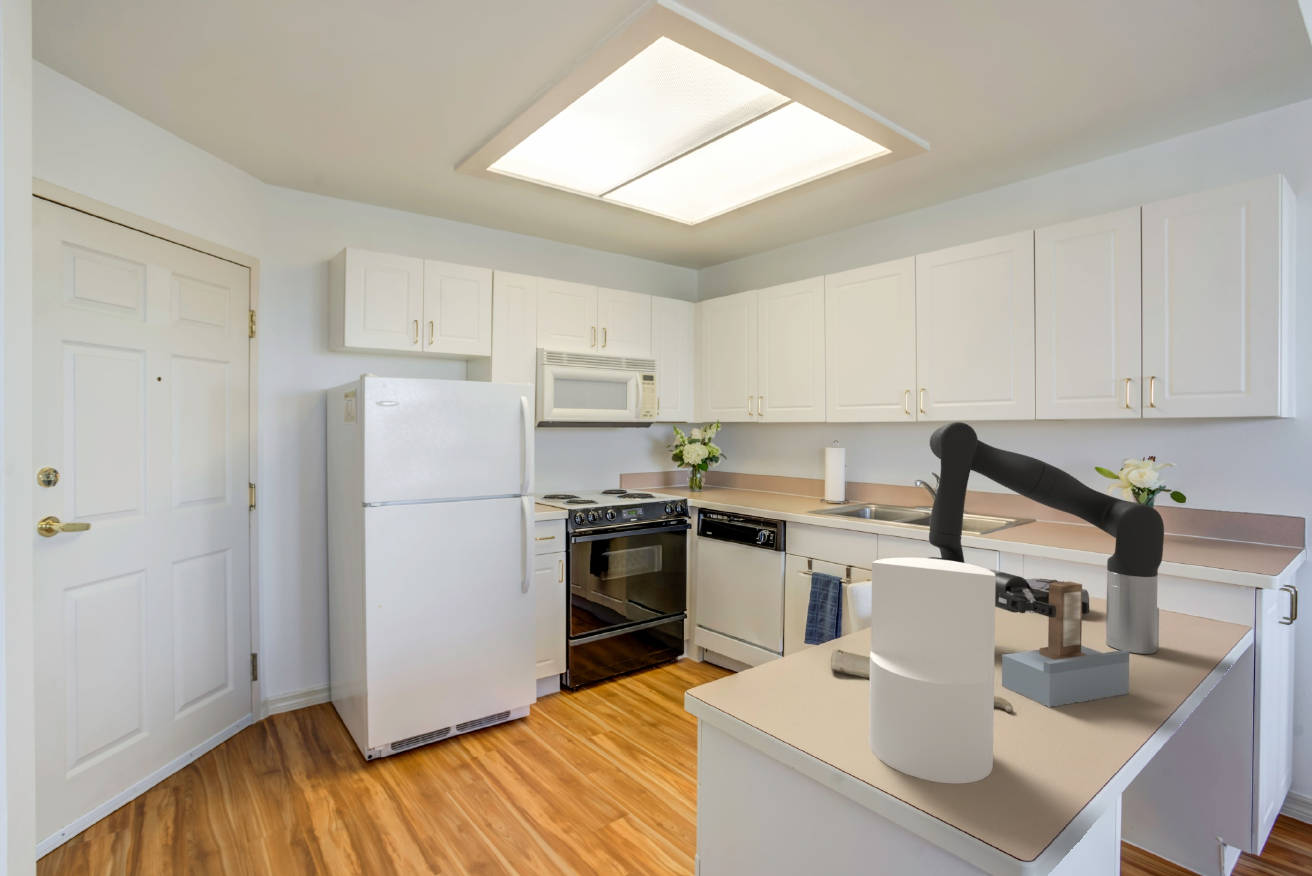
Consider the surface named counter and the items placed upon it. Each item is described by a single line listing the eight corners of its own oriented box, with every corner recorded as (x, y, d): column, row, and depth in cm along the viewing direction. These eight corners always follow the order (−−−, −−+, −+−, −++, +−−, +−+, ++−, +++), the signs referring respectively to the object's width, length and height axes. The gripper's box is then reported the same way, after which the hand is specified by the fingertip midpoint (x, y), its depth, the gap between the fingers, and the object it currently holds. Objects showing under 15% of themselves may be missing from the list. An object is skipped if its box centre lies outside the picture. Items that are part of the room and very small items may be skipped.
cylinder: (880, 716, 107) (882, 553, 107) (995, 742, 99) (997, 565, 98) (857, 761, 92) (859, 572, 92) (990, 797, 84) (993, 588, 83)
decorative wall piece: (837, 704, 114) (1016, 719, 108) (837, 688, 114) (1016, 701, 108) (824, 647, 144) (965, 656, 138) (824, 634, 144) (965, 643, 138)
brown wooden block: (1060, 651, 123) (1061, 579, 123) (1090, 661, 117) (1091, 586, 117) (1039, 654, 121) (1040, 581, 121) (1068, 665, 116) (1069, 588, 115)
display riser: (1077, 673, 127) (1078, 635, 127) (1128, 693, 118) (1129, 652, 118) (1001, 685, 121) (1002, 645, 121) (1049, 707, 111) (1049, 663, 111)
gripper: (973, 574, 131) (1043, 593, 116) (1025, 569, 136) (1099, 587, 120) (973, 609, 131) (1043, 633, 116) (1024, 604, 136) (1098, 626, 120)
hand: (1071, 610), depth 118 cm, fingers open, 8 cm apart
